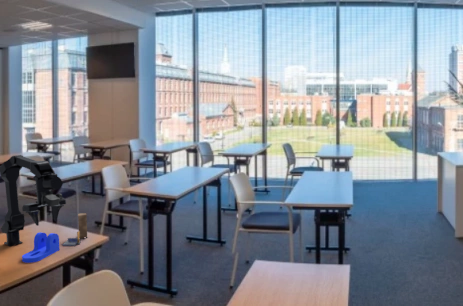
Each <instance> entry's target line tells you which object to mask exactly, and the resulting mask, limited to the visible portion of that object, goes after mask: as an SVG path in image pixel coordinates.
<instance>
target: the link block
mask: <svg viewBox="0 0 463 306" xmlns="http://www.w3.org/2000/svg"><path fill="white" fill-rule="evenodd" d="M77 217H78V218H77V219H78V223H77V224H78V232H79V238H80V239H85V238H84V237H87V238H88V224H87V223H88V219H87V217H88V216H87V213H86V212H81V213H78V214H77Z"/></svg>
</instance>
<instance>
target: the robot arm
mask: <svg viewBox="0 0 463 306" xmlns="http://www.w3.org/2000/svg"><path fill="white" fill-rule="evenodd" d="M22 168H24V169H26V170H27V169H28V170H29V172H30V173H31V174H33V175H34V176H33V177H32V180H33V181H34V180H35V181H34V182H35V189H36V191H35V192H34V194H35V195H36V201H35V203H32V202H31V203H26V204H23V206H22V208H21V209H22V212H25V213H27V214H28V215H29V217H31V219H32V221H33V222H34V224H35V226H39V225H40V224H39V223H40V221H39V215H38V214H39V212H40V211H39V210H38V209H40V208H43V207H50V208H51V212H52V217H53V221H54V222H57V220H58V218H59V217H58V216H59V213H60V210H61V209H62V207H64V205H66V204H67V200H66V199H65V198H64V197H63V193H57V194H54V193H53V190H55V191H57V190H60V189H61V188H62V187H63V181H62V178H61V177H59V176H58V174H57V173H56V171H55V170H54V169H53V167H52V165H51V164H50V162H49V161H47V160H35V159H32V158H30V157H26V156H24V155H22V154H17V155H12V156H10V157H9V159H7V160H6V161H4V162H3V163H2V164H1V165H0V177H1V179H2V180H3V181H4V184H5V193H6V196H5V197H6V202H7V203H6V205H7V213H5V214H6V215H5V216H4V223H3V225H2V226H1V227H0V229H1V233H2V234H6V241H5V242H4V245H6V246H9V247H12V246H17V245H20V244H23V243H24V242H23V241H22V240H21V237H20V235H21V234H20V231H24V229H25V223H26V221H25V214H24V213H22V212H21V211H20V205H19V197H18V195H19V193H18V185H17V183H18V182H17V181H18V180H19V177H20V172H21V170H22Z"/></svg>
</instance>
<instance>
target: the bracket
mask: <svg viewBox="0 0 463 306" xmlns="http://www.w3.org/2000/svg"><path fill="white" fill-rule="evenodd" d="M59 251H60V236H59V235H58V233H55V232H54V233H53V232H52V233H51V232H50V233H49V234H48V235H47V233H46V232H42V231H41V232H40V231H38V232H37V233H36V234H35V236H34V240H33V249H32V250H31V251H28V252H26V253H24V254H23V255H21V261H22V262H23V263H26V264H27V263H30V264H31V263H37V262H40V261H42V260H43V259H45V258H48V257H49V256H51V255H53V254H56V253H57V252H59Z"/></svg>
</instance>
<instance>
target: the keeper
mask: <svg viewBox="0 0 463 306" xmlns="http://www.w3.org/2000/svg"><path fill="white" fill-rule="evenodd" d="M80 239H81V238H80ZM80 239H79V231H77V232H76V237H68V238H67V240H65V242H64V243H62V246H64V247H75V246H77V245H81V244H80V243H82V242H81V240H80Z"/></svg>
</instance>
